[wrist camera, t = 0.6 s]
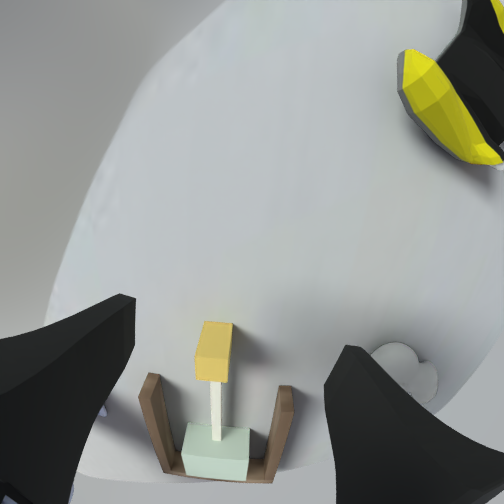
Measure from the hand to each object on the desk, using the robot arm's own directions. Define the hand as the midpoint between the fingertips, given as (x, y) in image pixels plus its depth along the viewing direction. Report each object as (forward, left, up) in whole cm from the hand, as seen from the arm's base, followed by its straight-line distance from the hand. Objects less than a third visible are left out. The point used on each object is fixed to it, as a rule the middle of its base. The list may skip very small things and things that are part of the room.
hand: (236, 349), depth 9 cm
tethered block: (-2, -14, -10) cm, 17 cm away
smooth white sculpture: (+13, -9, -10) cm, 19 cm away
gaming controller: (+15, +15, -10) cm, 23 cm away
